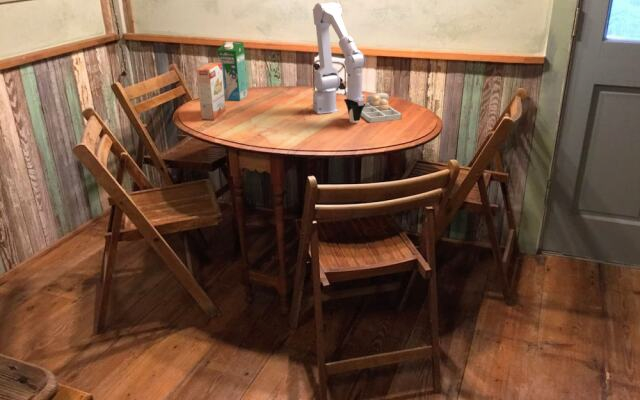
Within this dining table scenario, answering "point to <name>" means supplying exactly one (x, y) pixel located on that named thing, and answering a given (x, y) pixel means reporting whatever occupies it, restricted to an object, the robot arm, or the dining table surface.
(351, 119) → the cream egg
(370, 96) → the donut
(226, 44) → the milk carton
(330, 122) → the dining table surface
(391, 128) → the dining table surface
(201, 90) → the cracker box
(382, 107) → the brown egg
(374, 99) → the brown egg
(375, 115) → the egg carton
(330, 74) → the robot arm
